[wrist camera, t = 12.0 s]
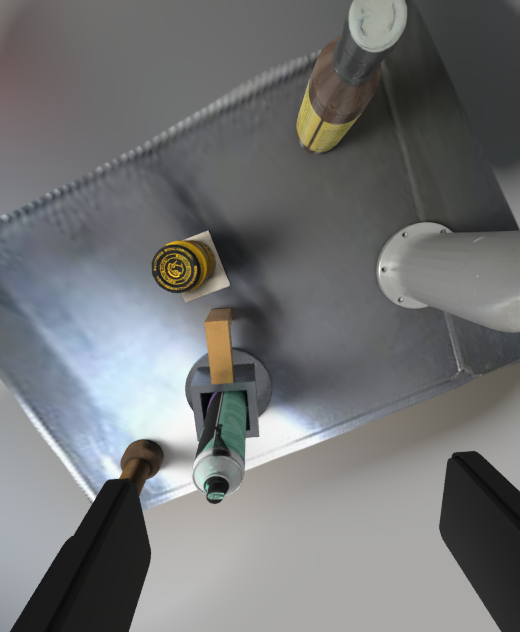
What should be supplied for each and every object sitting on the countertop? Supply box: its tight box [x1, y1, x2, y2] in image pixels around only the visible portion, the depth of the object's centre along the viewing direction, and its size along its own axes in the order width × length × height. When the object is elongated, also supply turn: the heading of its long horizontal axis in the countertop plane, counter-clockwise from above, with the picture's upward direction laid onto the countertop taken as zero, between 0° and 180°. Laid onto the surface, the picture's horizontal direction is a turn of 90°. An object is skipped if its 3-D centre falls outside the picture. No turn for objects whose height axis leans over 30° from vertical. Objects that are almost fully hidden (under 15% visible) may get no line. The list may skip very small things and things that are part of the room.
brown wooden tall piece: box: [119, 440, 163, 496], centre depth 42 cm, size 7×6×18 cm
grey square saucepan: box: [185, 308, 272, 441], centre depth 43 cm, size 14×20×7 cm
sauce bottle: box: [296, 0, 407, 154], centre depth 29 cm, size 6×6×20 cm
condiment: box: [152, 231, 230, 302], centre depth 37 cm, size 7×8×12 cm
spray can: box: [192, 390, 247, 504], centre depth 37 cm, size 6×6×20 cm
